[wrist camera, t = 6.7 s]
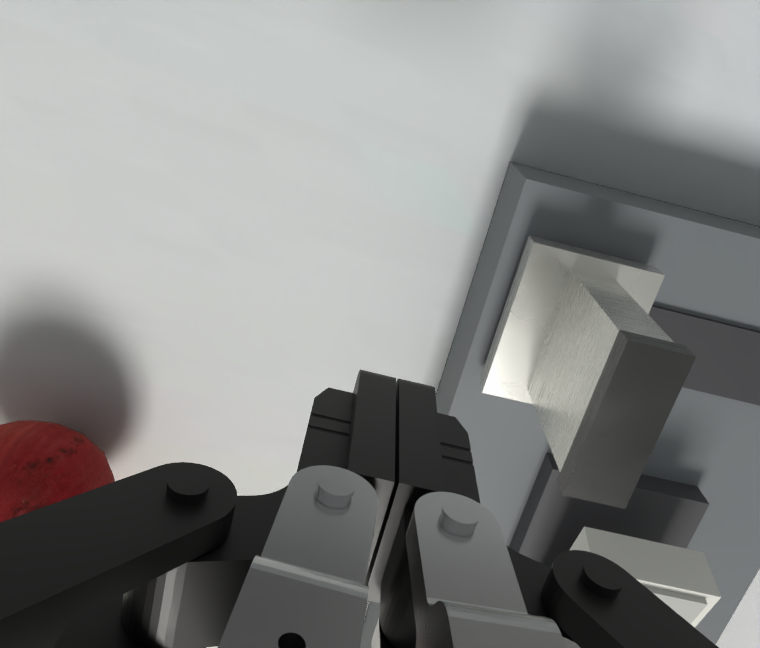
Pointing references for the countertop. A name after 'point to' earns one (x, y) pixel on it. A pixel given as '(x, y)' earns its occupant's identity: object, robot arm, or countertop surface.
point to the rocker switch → (659, 570)
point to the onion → (46, 466)
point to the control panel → (691, 409)
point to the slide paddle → (588, 364)
